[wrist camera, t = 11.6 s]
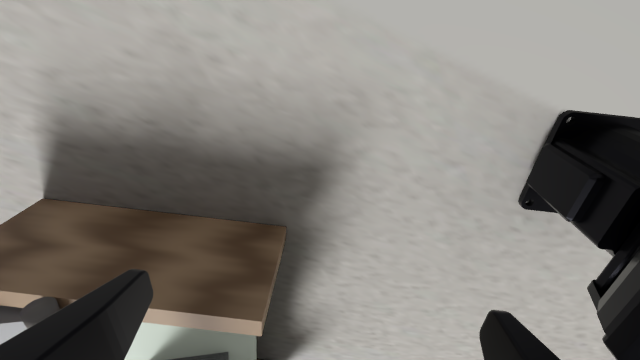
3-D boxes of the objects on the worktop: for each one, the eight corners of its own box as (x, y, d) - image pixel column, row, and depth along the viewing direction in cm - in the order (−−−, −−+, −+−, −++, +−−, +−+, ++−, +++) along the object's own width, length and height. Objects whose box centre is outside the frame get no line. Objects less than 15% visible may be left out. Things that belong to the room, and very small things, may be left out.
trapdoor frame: (102, 347, 32) (18, 465, 24) (42, 198, 23) (-124, 302, 15) (278, 368, 32) (256, 494, 23) (286, 226, 23) (255, 347, 15)
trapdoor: (55, 399, 26) (24, 462, 23) (-23, 268, 19) (-85, 331, 15) (255, 369, 30) (256, 419, 26) (254, 251, 23) (256, 298, 19)
